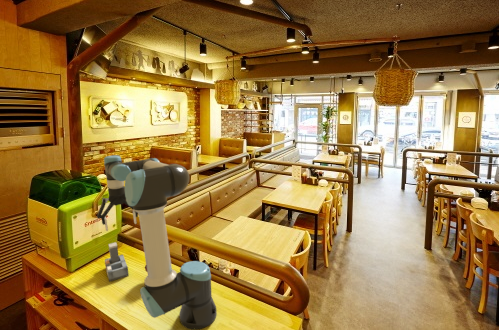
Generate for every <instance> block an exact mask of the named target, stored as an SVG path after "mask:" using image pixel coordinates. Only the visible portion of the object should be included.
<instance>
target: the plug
mask: <svg viewBox="0 0 499 330" xmlns="http://www.w3.org/2000/svg"><path fill="white" fill-rule="evenodd" d="M108 250H109V258H111V264H112V263H115V262H119V250H118V244H117V242H116V241H115V242H111V243H108Z"/></svg>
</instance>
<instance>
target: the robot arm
mask: <svg viewBox="0 0 499 330" xmlns="http://www.w3.org/2000/svg"><path fill="white" fill-rule="evenodd" d="M103 162H104V163H103V165H104V170H105V177H106V183H107V185H106V186H107V191H108V192H107V193H108V198H107V197H106V198H105V197H102V199H101V204H100V207H99V209H98V212H97V215H96V218H97V220H98V219H101V224H102V226H105V227H104V228H105V231H106V232H109V228H108V227H109V226H108V221H107V215H108V214H109V212H110V211H111V209H112V208H113V207H114V206H115V207H116V206H122V205H123V204H125V205H126V206H127V207H128V208H129V209H132V216H133V218H132V219H133V223H134V225H136V224H137V218H138V219H139V226H140V231H141V232H140V233H141V238H142V245H143V253H144V258H145V266H147V272H146V273H147V275H146V277H145V278H144V282H143V283H144V286H142V287H141V288H140V289H139V291H140V292H139V293H140V295H141V300H142V303H143V305H144V307H145V309H146V311H147V313H148V314H149V316H150V317H152V318H154V319H155V318H158V317H160V316H163V315H166V314H167V313H169V312H171V311H173V310H175V309H177V308H179V307H180V310H179V322H180V324H181V325H182V327H184V328H186V329H188V330H202V329H205V328H207V327H208V326H210V325H212V324H213V323H214V321H215V320H216V318H217V311H218V310H217V306H216V303H215V301H214V299H213V295H212V274H211V268H210V267H209V265H208V264H207V263H205V262H202V261H199V260H193V261H191V260H190V261H187V262H184V263H183V264H182V265H181V267H180V268H179V271H178V272H177V271H176V270H175V269H173V268H172V260H171V255H170V254H171V253H170V247H169V238H168V231H167V225H166V224H167V223H166V216H165V208H166V206H167V205H168V201H167V200H168V199H169V198H171V197H175V196H177V195H180V194H181V193H183V192H184V191H185V190H186V189H187V187H188V185H189V183H190V174H189V170H187V169H186V167H184V166H183V165H181V164H177V163H170V164H167V163H163V162H160V160H159V159H158V158H156V157H154V158H153V157H151V158H147V159H140V160H134V161H125V162H123V161H122V158H121V156H120V155H118V154H117V155H116V154H115V155H108V156H105V157H104V158H103ZM167 198H168V199H167ZM108 201H109V203H108ZM107 203H108V205H107V206H106V204H107ZM105 207H106V209H105Z"/></svg>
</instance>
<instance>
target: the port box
mask: <svg viewBox="0 0 499 330" xmlns="http://www.w3.org/2000/svg"><path fill="white" fill-rule="evenodd" d="M118 256H119V262H115V263H112V264H111V258H110V257H108V258H105V259H104V265H105V270H106V274H107V278H108V281H109V283H111V282H113V281H116V280H119V279H122V278H126V277H129V275H130V274H129V269H128V268H129V267H128V264H127V262H126V259H125V256H124V254H120V255H119V254H118Z"/></svg>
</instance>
